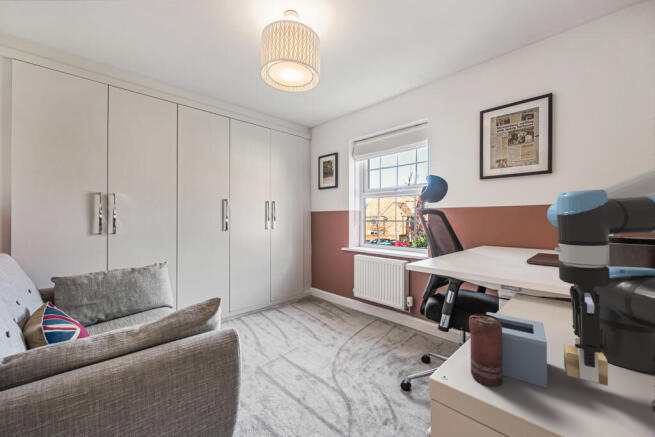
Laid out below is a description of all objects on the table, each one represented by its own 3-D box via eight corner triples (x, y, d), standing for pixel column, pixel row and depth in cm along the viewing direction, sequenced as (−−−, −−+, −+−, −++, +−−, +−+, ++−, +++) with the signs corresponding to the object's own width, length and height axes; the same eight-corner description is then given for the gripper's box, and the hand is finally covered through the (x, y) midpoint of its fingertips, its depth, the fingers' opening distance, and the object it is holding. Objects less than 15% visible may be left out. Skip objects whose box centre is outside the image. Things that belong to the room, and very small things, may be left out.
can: (467, 367, 62) (467, 311, 62) (498, 373, 60) (497, 314, 60) (471, 383, 56) (471, 321, 56) (505, 390, 54) (505, 325, 54)
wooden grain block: (602, 375, 54) (602, 352, 54) (607, 386, 51) (607, 361, 50) (564, 365, 57) (563, 344, 57) (566, 375, 54) (566, 352, 54)
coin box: (543, 361, 64) (542, 322, 64) (546, 388, 54) (546, 342, 54) (487, 347, 71) (486, 311, 71) (481, 368, 62) (481, 327, 62)
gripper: (554, 256, 62) (558, 350, 63) (563, 270, 49) (568, 390, 49) (598, 258, 58) (602, 359, 58) (622, 274, 44) (626, 406, 45)
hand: (586, 373), depth 54 cm, fingers closed on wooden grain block, 4 cm apart
